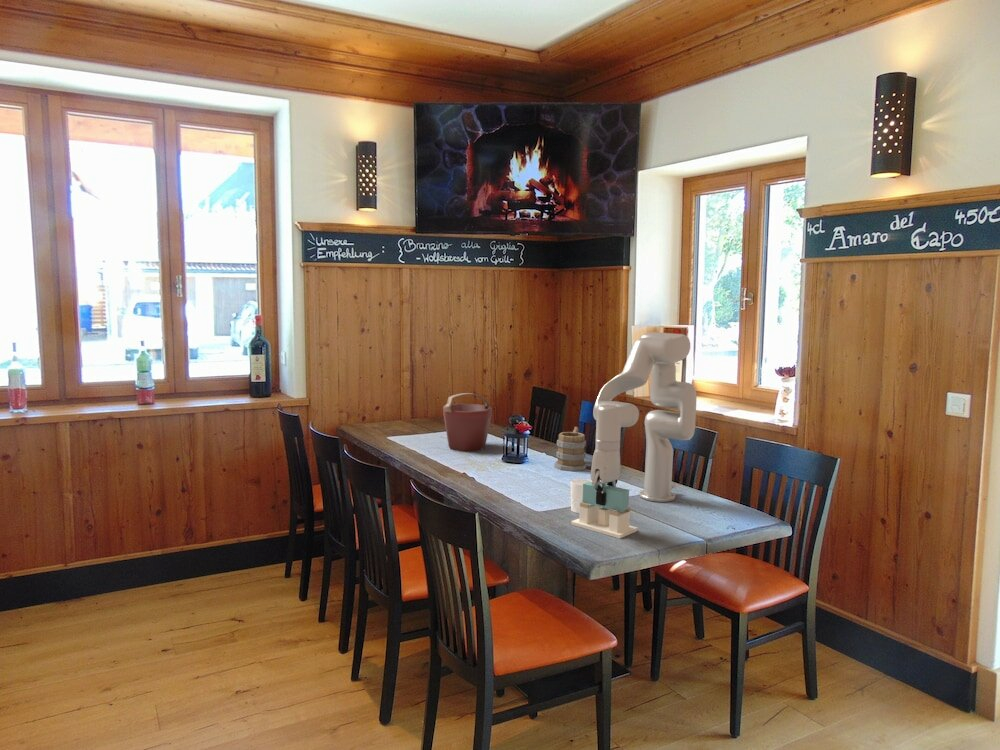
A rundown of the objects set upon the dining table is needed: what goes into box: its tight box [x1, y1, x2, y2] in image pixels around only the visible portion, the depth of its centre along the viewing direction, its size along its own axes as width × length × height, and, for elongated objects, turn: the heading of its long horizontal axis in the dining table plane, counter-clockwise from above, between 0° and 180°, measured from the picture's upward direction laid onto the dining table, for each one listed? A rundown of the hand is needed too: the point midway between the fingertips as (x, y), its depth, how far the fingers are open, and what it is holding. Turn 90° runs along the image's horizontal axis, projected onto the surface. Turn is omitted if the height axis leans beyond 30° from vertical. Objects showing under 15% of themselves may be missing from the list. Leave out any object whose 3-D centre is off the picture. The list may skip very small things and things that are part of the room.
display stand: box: [570, 502, 639, 539], centre depth 226 cm, size 10×18×7 cm, turn 49°
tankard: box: [554, 426, 588, 472], centre depth 304 cm, size 20×13×15 cm, turn 162°
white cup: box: [569, 478, 593, 514], centre depth 242 cm, size 8×8×10 cm
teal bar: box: [582, 481, 630, 512], centre depth 225 cm, size 4×14×6 cm, turn 52°
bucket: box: [442, 392, 493, 453], centre depth 332 cm, size 24×22×25 cm
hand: (605, 502), depth 225 cm, fingers closed on teal bar, 4 cm apart
